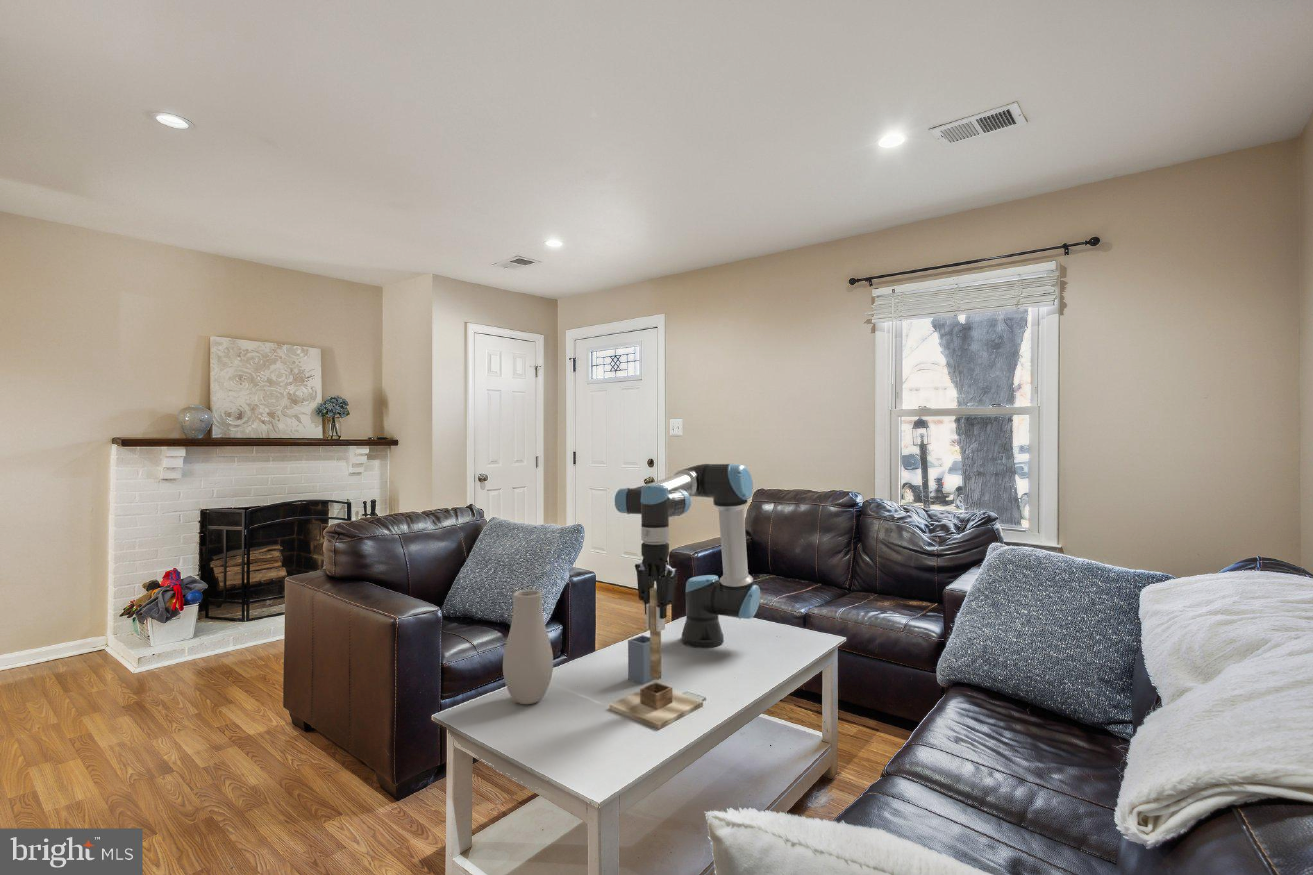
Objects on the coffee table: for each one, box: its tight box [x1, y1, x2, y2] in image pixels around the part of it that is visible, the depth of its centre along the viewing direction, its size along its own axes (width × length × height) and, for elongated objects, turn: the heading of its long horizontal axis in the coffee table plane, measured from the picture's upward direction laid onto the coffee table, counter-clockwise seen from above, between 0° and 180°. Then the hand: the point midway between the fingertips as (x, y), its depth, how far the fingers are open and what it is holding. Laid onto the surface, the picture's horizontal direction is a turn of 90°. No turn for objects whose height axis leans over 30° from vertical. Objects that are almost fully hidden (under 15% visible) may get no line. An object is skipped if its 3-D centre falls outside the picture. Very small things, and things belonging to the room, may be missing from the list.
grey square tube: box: [627, 634, 654, 685], centre depth 185 cm, size 6×6×12 cm
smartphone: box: [681, 691, 707, 702], centre depth 167 cm, size 7×1×15 cm
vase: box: [502, 589, 554, 705], centre depth 170 cm, size 14×14×30 cm
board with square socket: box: [608, 681, 704, 730], centre depth 165 cm, size 18×18×5 cm
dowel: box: [649, 586, 662, 681], centre depth 165 cm, size 3×3×24 cm
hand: (655, 628), depth 165 cm, fingers closed on dowel, 3 cm apart
